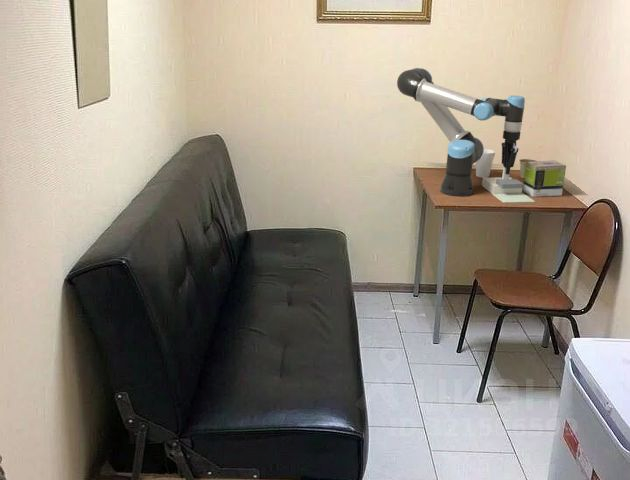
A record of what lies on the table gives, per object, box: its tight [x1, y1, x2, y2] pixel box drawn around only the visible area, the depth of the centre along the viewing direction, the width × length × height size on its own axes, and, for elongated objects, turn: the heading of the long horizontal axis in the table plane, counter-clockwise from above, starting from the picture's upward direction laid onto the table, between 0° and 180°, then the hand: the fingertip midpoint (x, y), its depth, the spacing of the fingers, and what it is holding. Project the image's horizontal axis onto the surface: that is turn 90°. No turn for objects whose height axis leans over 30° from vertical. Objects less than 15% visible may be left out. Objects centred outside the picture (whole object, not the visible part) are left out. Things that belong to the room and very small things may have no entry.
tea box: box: [522, 160, 567, 198], centre depth 296 cm, size 15×10×15 cm, turn 100°
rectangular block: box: [496, 178, 524, 189], centre depth 295 cm, size 10×7×2 cm
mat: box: [492, 192, 536, 204], centre depth 290 cm, size 15×12×1 cm
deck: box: [481, 176, 523, 195], centre depth 302 cm, size 14×14×4 cm
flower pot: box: [519, 158, 537, 180], centre depth 323 cm, size 9×9×9 cm
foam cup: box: [475, 148, 496, 179], centre depth 323 cm, size 10×9×13 cm
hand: (505, 180), depth 298 cm, fingers closed
